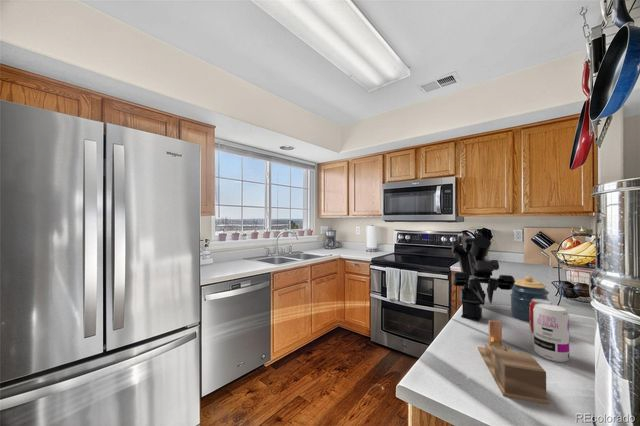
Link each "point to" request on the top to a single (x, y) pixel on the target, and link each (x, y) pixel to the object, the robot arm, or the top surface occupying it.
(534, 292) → the canister
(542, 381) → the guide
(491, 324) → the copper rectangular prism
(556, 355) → the supplement can
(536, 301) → the soda can
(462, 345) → the top surface
